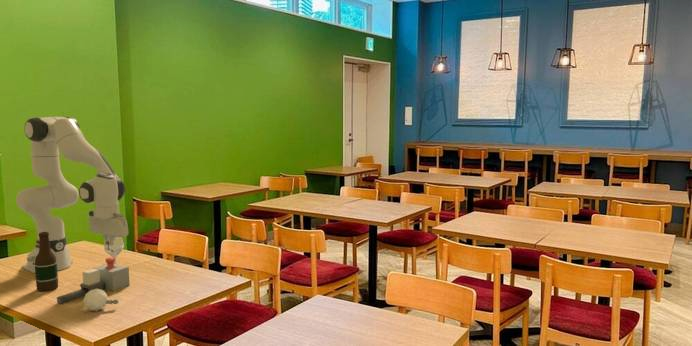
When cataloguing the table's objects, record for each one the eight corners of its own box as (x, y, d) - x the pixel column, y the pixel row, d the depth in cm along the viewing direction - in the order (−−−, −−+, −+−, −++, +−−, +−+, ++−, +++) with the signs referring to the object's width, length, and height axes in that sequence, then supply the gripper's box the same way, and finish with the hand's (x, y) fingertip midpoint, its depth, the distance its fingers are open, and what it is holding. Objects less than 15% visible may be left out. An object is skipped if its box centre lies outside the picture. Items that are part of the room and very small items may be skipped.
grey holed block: (93, 286, 211) (92, 268, 210) (110, 280, 218) (109, 262, 217) (113, 291, 205) (112, 272, 204) (129, 285, 212) (128, 266, 211)
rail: (57, 303, 192) (56, 297, 191) (101, 288, 208) (101, 282, 208) (61, 304, 191) (60, 298, 190) (105, 289, 207) (105, 283, 207)
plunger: (104, 279, 210) (103, 259, 209) (112, 277, 214) (111, 257, 212) (110, 280, 209) (109, 260, 208) (118, 278, 212) (116, 258, 211)
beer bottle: (48, 293, 203) (44, 235, 200) (32, 291, 204) (27, 234, 202) (62, 286, 210) (59, 230, 208) (47, 285, 212) (43, 229, 209)
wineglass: (126, 274, 227) (124, 235, 225) (107, 277, 222) (105, 237, 220) (123, 269, 234) (121, 231, 231) (104, 272, 229) (102, 234, 227)
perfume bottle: (86, 296, 190) (121, 297, 193) (81, 315, 184) (116, 315, 187) (85, 284, 185) (120, 285, 188) (79, 303, 179) (116, 304, 182)
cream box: (80, 292, 202) (79, 271, 201) (94, 287, 207) (92, 267, 206) (90, 294, 199) (89, 274, 198) (103, 290, 205) (102, 269, 204)
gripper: (131, 213, 206) (133, 246, 207) (98, 209, 215) (100, 240, 217) (118, 216, 200) (120, 249, 202) (85, 211, 210) (87, 243, 211)
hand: (109, 245), depth 209 cm, fingers closed
